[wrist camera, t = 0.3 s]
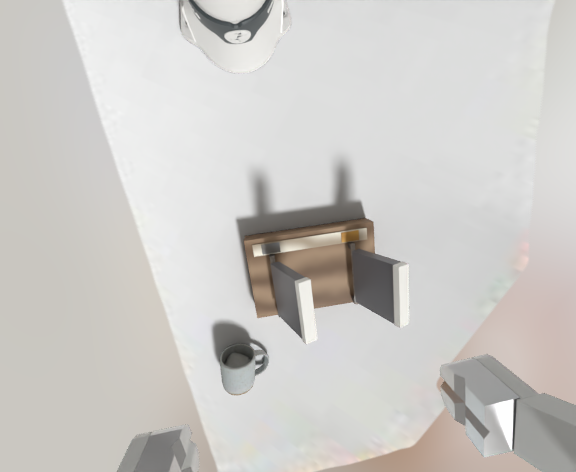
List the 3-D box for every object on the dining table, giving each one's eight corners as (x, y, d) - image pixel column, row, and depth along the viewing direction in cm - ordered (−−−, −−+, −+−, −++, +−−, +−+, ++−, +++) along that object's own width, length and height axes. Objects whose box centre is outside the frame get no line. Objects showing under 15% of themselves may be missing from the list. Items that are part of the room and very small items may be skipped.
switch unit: (244, 236, 55) (243, 243, 50) (365, 218, 57) (377, 223, 51) (257, 308, 60) (257, 323, 54) (369, 289, 61) (380, 302, 56)
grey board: (351, 251, 51) (398, 267, 42) (360, 248, 52) (408, 263, 43) (354, 302, 54) (400, 328, 45) (363, 298, 55) (409, 323, 45)
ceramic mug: (224, 374, 63) (220, 401, 56) (222, 344, 61) (217, 368, 54) (269, 370, 65) (270, 396, 57) (268, 340, 62) (269, 364, 55)
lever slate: (269, 264, 50) (298, 283, 41) (279, 261, 51) (310, 279, 42) (277, 315, 53) (306, 344, 44) (287, 311, 54) (317, 339, 44)
